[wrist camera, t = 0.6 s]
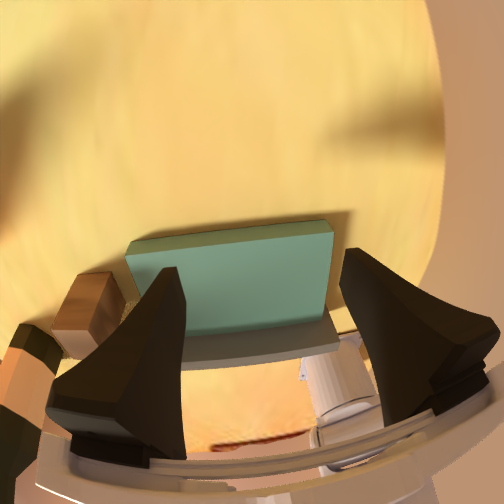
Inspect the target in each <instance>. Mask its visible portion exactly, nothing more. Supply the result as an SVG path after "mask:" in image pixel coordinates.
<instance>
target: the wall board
mask: <svg viewBox="0 0 504 504" xmlns="http://www.w3.org/2000/svg"><path fill="white" fill-rule="evenodd" d="M333 240H334V231H333V229H332V228H331V226H330V225H329V223H328V222H327V221H326V220H315V221H304V222H294V223H284V224H274V225H264V226H255V227H246V228H237V229H228V230H220V231H211V232H203V233H195V234H187V235H179V236H171V237H163V238H156V239H148V240H141V241H134V242H131V243H130V245H129V247H128V249H127V251H126V254H125V259H126V262H127V264H128V267H129V269H130V272H131V274H132V277H133V279H134V282H135V284H136V287H137V289H138V291H139V294H140V296H141V298H142V296H143V295H144V293H145V292H146V291H147V289H148V288H149V286H150V285H151V284H152V282H153V281H154V279H155V278H156V276H157V275H158V273H159V272H160V271H161V269H162V268H165V267H175V266H177V269H178V273H179V277H180V281H181V284H182V288H183V291H184V295H185V298H186V302H187V307H186V330H185V338H184V346H183V354H182V363H181V371H186V370H204V369H218V368H229V367H239V366H248V365H256V364H264V363H272V362H278V361H285V360H291V359H297V358H303V357H309V356H314V355H319V354H324V353H329V352H334V351H338V349H339V345H340V342H341V341H340V339H339V336H338V334H337V331H336V329H335V326H334V324H333V321H332V319H331V316H330V314H329V311H328V309H327V307H326V304H325V298H326V292H327V285H328V278H329V271H330V264H331V256H332V248H333Z"/></svg>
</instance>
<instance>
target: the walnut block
mask: <svg viewBox="0 0 504 504" xmlns="http://www.w3.org/2000/svg"><path fill="white" fill-rule="evenodd" d="M125 304H126V302H125V300H124V298H123V296H122V294H121V292H120V290H119V288H118V285H117V283H116V281H115V279H114V277H113V274H112V272H111V271H109V272H100V273H91V274H82V275H77V277H76V279H75V280H74V282H73V284H72V286H71V288H70V290H69V292H68V294H67V296H66V298H65V300H64V302H63V304H62V306H61V308H60V310H59V312H58V314H57V316H56V318H55V321H54V323H53V325H52V327H51V331H52V333H53V334H54V335H55V337H56V338H57V339H58V341H59V342H60V343H61V345H62V346H63V347H64V348H65V350H66V351H67V352H68V353H69V354H70V356H71V357H72V358H73V359H77V360H83V359H84V358H86V357H87V356H88V355H89V354H90V353H92V352H93V351H94V350H95V349H96V348H97V347H98V346H99V345H100V344H102V343H103V342H104V341H105V340H106V339H107V338H108V337H109V336H110V335H111V334H112V333H113V332H114V331H115V330H116V329H117V328H118V326H119V324H120V320H121V317H122V313H123V310H124V307H125Z"/></svg>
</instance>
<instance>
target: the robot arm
mask: <svg viewBox="0 0 504 504" xmlns="http://www.w3.org/2000/svg"><path fill="white" fill-rule="evenodd" d="M339 286H340V289H341V292H342V295H343V298H344V301H345V304H346V306H347V308H348V310H349V312H350V314H351V316H352V318H353V320H354V322H355V324H356V327H357V329H358V331H356V332H352V333H347V334H342V335H338V336H339V339H340V341H341V342H340V345H339V349H338V351H334V352H329V353H324V354H319V355H314V356H309V357H303V358H302V359H301V365H300V372H299V380H300V381H302V380H306V381H307V385H308V389H309V393H310V397H311V401H312V405H313V409H314V412H315V414H316V416H317V417H318V418H316V421H317V425H316V426H314V427H313V428H312V431H311V432H310V438H309V439H310V447H311V449H308V450H303V451H297V452H292V453H286V454H280V455H272V456H264V457H255V458H245V459H232V460H198V461H197V460H186V459H187V456H186V449H185V441H184V433H183V422H182V409H181V363H182V354H183V346H184V338H185V330H186V307H187V302H186V298H185V295H184V291H183V288H182V284H181V281H180V277H179V273H178V269H177V266H175V267H165V268H162V269H161V271H160V272H159V273H158V275H157V276H156V278H155V279H154V281H153V282H152V284H151V285H150V286H149V288H148V289H147V291H146V292H145V293H144V295H143V296H142V298H141V299H140V300H139V302H138V303H137V305H136V306H135V307H134V308H133V310H132V311H131V312H130V313H129V315H128V316H127V317H126V318H125V320H124V321H123V322H122V323H121V324H120V325H119V326H118V328H117V329H116V330H115V331H114V332H113V333H112V334H111V335H110V336H109V337H108V338H107V339H106V340H105V341H104V342H103V343H102V344H100V345H99V346H98V347H97V348H96V349H95V350H94V351H93V352H92V353H90V354H89V355H88V356H87V357H86V358H84V359H83V360H82V361H81V362H79V363H78V364H77V365H75V366H74V367H73V368H71V369H70V370H68V371H67V372H65V373H64V374H62V375H61V376H59V377H58V378H56V379H54V380H53V382H52V385H51V388H50V392H49V395H48V399H47V403H46V406H45V412H46V414H47V415H48V417H49V418H50V419H52V420H53V421H54V422H55V423H57V424H58V425H60V426H61V427H62V428H64V429H65V430H67V431H68V432H70V433H71V434H72V440H69V439H67V438H64V437H61V436H57V435H54V434H51V433H47V432H43V434H42V439H41V445H40V450H39V456H38V464H37V472H36V481H35V484H36V485H37V486H39V487H41V488H43V489H45V490H48V491H50V492H52V493H54V494H57V495H59V496H61V497H64V498H67V499H69V500H71V501H74V502H76V503H79V504H439V502H438V499H437V495H436V492H435V488H434V485H433V482H432V478H431V476H433V475H434V474H436V473H438V472H439V471H441V470H442V469H444V468H445V467H447V466H448V465H450V464H451V463H453V462H454V461H456V460H457V459H458V458H460V457H461V456H463V455H464V454H465V453H467V452H468V451H469V450H471V449H472V448H473V447H475V446H476V445H477V444H478V443H480V442H481V441H482V440H483V439H484V438H486V437H487V436H488V435H489V434H490V433H492V432H493V431H494V430H495V429H496V428H497V427H498V426H499V425H500V424H501V423H502V422H504V361H502V362H501V363H500V364H498V365H497V366H495V367H494V368H492V369H491V370H489V371H488V372H487V373H486V374H485V372H484V370H483V369H484V368H485V367H486V364H485V362H484V361H483V359H484V358H485V357H486V356H487V354H488V353H489V352H490V351H491V349H492V348H493V347H494V345H495V344H496V343H497V341H498V339H499V337H500V330H499V328H498V327H497V325H496V324H495V323H494V321H493V320H492V319H491V318H490V317H487V316H483V315H479V314H476V313H472V312H469V311H467V310H464V309H461V308H458V307H456V306H453V305H451V304H449V303H446V302H444V301H442V300H440V299H438V298H436V297H434V296H432V295H430V294H428V293H426V292H425V291H423V290H421V289H419V288H418V287H416V286H414V285H413V284H411V283H410V282H408V281H406V280H405V279H403V278H402V277H400V276H399V275H397V274H396V273H394V272H393V271H392V270H390V269H389V268H387V267H386V266H384V265H383V264H382V263H380V262H379V261H377V260H376V259H375V258H373V257H372V256H370V255H369V254H367V253H366V252H364V251H363V250H361V249H360V248H349V249H346V250H345V256H344V261H343V267H342V272H341V277H340V283H339ZM362 341H364V344H365V346H366V349H367V352H368V355H369V358H370V361H371V364H372V368H373V371H374V375H375V379H376V383H377V387H378V392H379V394H377V393H376V391H375V388H374V386H373V383H372V381H371V378H370V376H369V373H368V371H367V368H366V366H365V363H364V361H363V358H362V356H361V354H360V351H359V348H360V346H361V343H362ZM405 438H406V439H405ZM377 454H379V455H377ZM375 455H377V456H376V457H373V458H372V459H370V460H369V461H368V462H365V463H362V464H359V465H357V466H354V467H351V468H346V469H341V467H344V466H347V465H350V464H353V463H356V462H359V461H361V460H364V459H367V458H370V457H372V456H375ZM316 467H318V468H319V471H320V473H321V477H320V478H316V479H312V480H307V481H303V482H298V483H292V484H288V485H281V486H276V487H269V488H261V489H253V490H244V491H236V488H235V487H233V486H228V484H227V483H226V482H212V481H197V480H200V479H201V480H215V479H216V480H217V479H239V478H252V477H261V476H270V475H277V474H284V473H290V472H296V471H301V470H306V469H311V468H316ZM187 479H195V480H187Z"/></svg>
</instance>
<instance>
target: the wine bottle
mask: <svg viewBox="0 0 504 504" xmlns="http://www.w3.org/2000/svg"><path fill="white" fill-rule="evenodd" d="M62 355H63V350H62V349H61V348H60V346H59V345H58V344H57V343H56V341H55V340H54V338H53V337H51V336H50V335H48V334H46V333H45V332H43V331H42V330H40V329H39V328H37V327H36V326H34V325H25V324H19V326H18V328H17V330H16V332H15V334H14V336H13V338H12V340H11V342H10V345H9V347H8V349H7V351H6V354H5V356H4V358H3V361H2V363H1V366H0V504H14V495H15V482H16V478H17V477H18V476H19V475H20V474H21V473H22V472H23V471H24V470H25V469H26V468H27V467H28V466H29V465H30V464H31V463H32V462H33V461H34V460H35V459H36V458H37V452H38V446H39V441H40V435H41V430H42V425H43V421H44V417H45V413H46V412H45V406H46V403H47V399H48V395H49V392H50V388H51V385H52V382H53V380H54V379H55V376H56V373H57V370H58V367H59V364H60V361H61V358H62Z"/></svg>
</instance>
